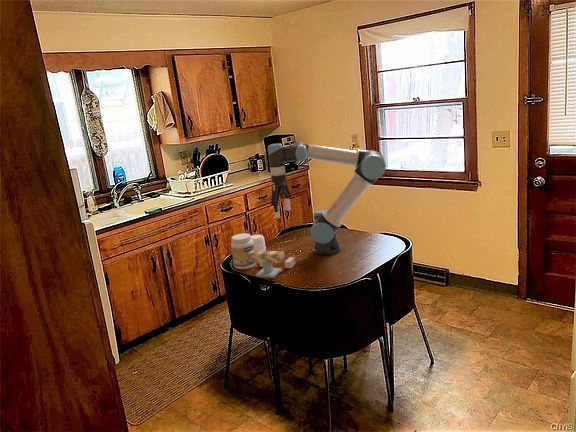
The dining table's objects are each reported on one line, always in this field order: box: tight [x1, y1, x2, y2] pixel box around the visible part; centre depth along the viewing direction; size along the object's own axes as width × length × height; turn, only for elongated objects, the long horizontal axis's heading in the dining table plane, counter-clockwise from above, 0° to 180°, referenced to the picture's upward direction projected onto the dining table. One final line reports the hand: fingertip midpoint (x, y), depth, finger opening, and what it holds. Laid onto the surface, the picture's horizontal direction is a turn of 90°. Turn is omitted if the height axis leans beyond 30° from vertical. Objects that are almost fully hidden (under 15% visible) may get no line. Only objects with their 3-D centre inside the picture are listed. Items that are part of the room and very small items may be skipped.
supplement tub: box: [230, 233, 257, 270], centre depth 250 cm, size 12×12×17 cm
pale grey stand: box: [255, 262, 282, 279], centre depth 237 cm, size 10×10×7 cm
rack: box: [258, 256, 296, 269], centre depth 247 cm, size 18×6×4 cm, turn 66°
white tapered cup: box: [251, 234, 267, 251], centre depth 262 cm, size 8×8×12 cm
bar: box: [248, 250, 286, 264], centre depth 236 cm, size 18×4×4 cm, turn 66°
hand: (283, 214), depth 244 cm, fingers open, 13 cm apart
